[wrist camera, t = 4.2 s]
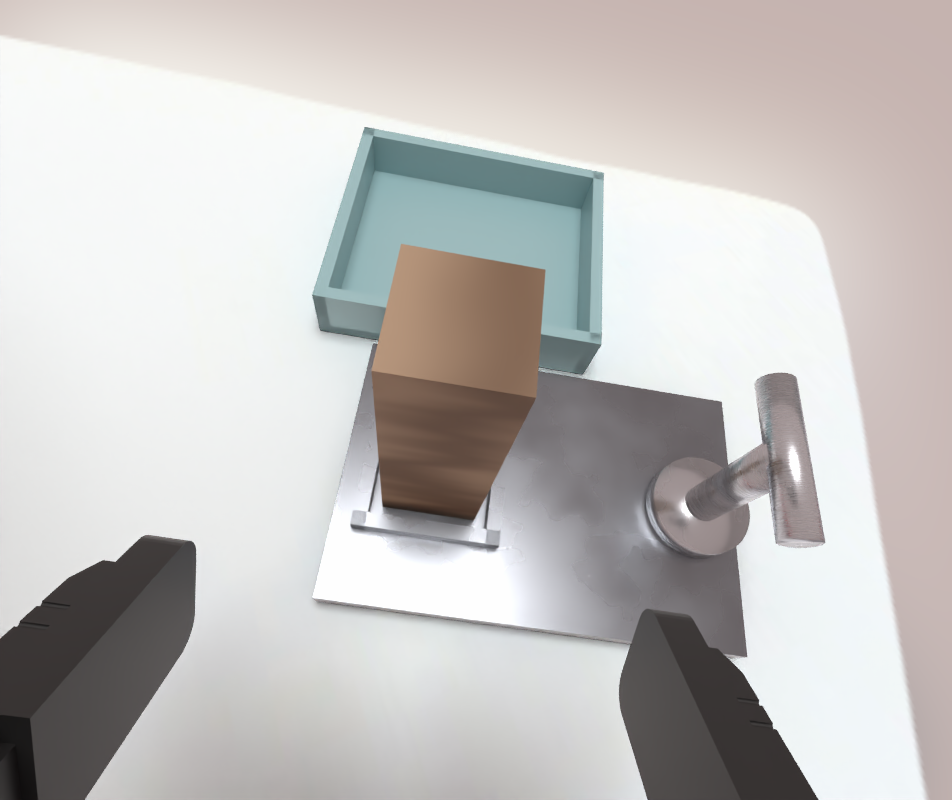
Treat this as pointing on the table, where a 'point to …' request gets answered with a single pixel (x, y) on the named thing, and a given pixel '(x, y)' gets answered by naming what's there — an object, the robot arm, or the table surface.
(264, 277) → the table surface
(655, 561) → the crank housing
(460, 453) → the tall brown wooden block
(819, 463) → the table surface
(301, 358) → the table surface
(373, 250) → the tray
